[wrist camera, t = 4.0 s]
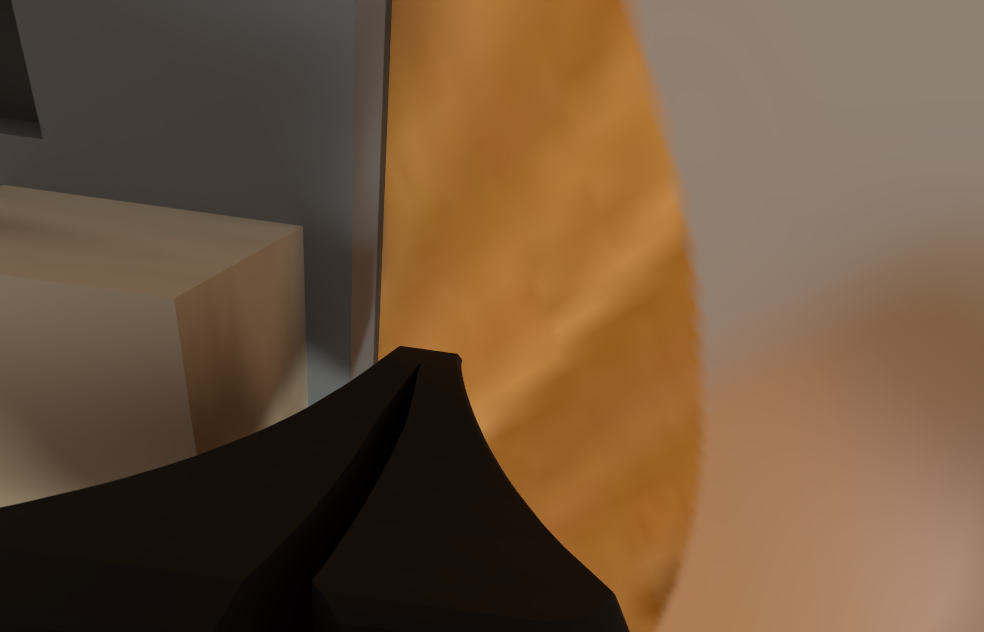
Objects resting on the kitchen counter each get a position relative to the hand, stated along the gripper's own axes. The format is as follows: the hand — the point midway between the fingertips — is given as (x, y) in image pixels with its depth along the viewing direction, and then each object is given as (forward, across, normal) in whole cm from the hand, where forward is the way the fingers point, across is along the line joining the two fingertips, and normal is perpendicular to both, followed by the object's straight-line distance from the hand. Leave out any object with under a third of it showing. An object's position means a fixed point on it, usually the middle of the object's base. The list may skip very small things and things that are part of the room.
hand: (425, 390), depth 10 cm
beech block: (+1, +6, 0) cm, 6 cm away
